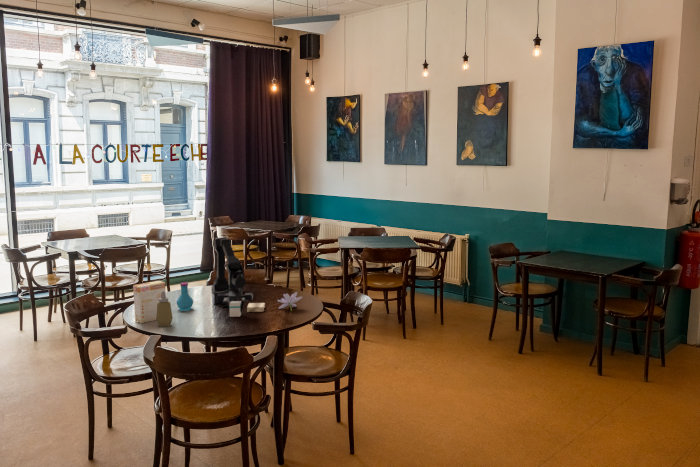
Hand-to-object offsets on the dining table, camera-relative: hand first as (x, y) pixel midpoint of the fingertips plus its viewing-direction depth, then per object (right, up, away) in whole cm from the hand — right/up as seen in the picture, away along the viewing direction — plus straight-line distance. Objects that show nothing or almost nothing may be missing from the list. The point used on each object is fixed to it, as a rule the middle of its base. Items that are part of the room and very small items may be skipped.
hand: (235, 312), depth 328 cm
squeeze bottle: (-33, -5, -18) cm, 38 cm away
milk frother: (-12, +6, +52) cm, 54 cm away
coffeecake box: (-44, -3, -6) cm, 44 cm away
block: (+9, 0, +12) cm, 15 cm away
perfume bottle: (-31, 0, +13) cm, 34 cm away
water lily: (+28, 0, +13) cm, 31 cm away
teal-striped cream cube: (0, -2, 0) cm, 2 cm away
